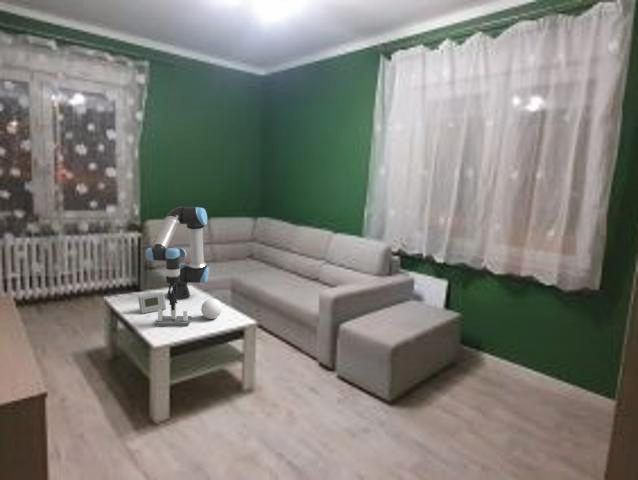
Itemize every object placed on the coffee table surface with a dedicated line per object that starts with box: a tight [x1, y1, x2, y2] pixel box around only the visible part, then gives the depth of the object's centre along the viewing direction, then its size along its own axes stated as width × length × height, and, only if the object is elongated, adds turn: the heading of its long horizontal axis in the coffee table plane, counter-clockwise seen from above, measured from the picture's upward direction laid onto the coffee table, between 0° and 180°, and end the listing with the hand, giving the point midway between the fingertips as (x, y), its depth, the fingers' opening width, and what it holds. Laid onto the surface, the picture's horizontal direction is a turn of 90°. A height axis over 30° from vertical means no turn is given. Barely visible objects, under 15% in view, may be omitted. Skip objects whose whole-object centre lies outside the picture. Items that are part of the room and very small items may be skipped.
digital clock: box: [138, 292, 167, 315], centre depth 260 cm, size 16×9×11 cm, turn 123°
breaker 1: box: [157, 310, 164, 321], centre depth 239 cm, size 2×2×6 cm
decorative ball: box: [200, 298, 223, 320], centre depth 252 cm, size 12×12×12 cm
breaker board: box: [154, 315, 192, 328], centre depth 243 cm, size 12×18×2 cm, turn 98°
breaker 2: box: [182, 309, 189, 321], centre depth 241 cm, size 2×2×6 cm
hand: (173, 314), depth 241 cm, fingers closed
